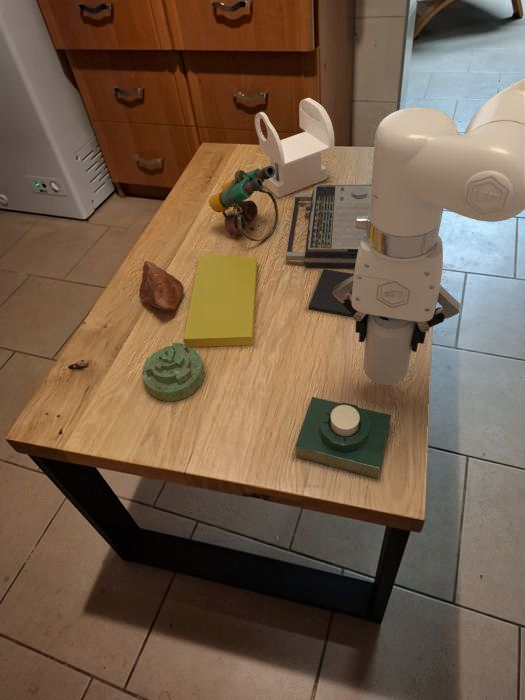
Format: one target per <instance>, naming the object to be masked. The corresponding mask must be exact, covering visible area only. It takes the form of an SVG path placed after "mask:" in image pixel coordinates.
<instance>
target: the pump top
mask: <svg viewBox="0 0 525 700" xmlns="http://www.w3.org/2000/svg"><path fill="white" fill-rule="evenodd" d="M359 421H360V416H359V413H358V411H357V410H356V409H355V408H353V407H351V406H348V405H340V406H337V407H336V408H334V409H333V411H332V412H331V417H330V426H331V429H332V430H333V432H334V433H336V434H337V435H339V436H343V437H348V436H351V435H353V434H355V433H356V432H357V430H358V428H359Z"/></svg>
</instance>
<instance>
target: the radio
mask: <svg viewBox="0 0 525 700" xmlns="http://www.w3.org/2000/svg"><path fill="white" fill-rule="evenodd" d="M371 187H372V183H371V184H370V183H369V184H367V183H365V184H314V187H313V189H312V193H295V195H294V205H293V210H292V217H291V224H290V230H289V235H288V242H287V247H286V252H285V261H298V262H300V261H301V262H302V261H303V262H304V265H305V267H306V269H339V270H340V269H347V270H355V264H356V258H357V253H358V249H359V246H360V243H361V240H362V238H363V237H364V234H365V233H366V232H365V230H362V229H358V228H356V220H357V217H364V216H368V213H370V204H371ZM300 202H310V203H307V204H305V209H306V210H305V211H304V216H308V217H309V218H308V224H307V233H306V242H305V249H304V251H293V250H292V249H293V242H294V237H295V232H296V231H295V230H296V224H297V215H298V209H299V203H300Z"/></svg>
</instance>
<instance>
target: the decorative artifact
mask: <svg viewBox="0 0 525 700" xmlns="http://www.w3.org/2000/svg"><path fill="white" fill-rule="evenodd" d="M204 368H205V367H204V364H203V361H202V357H201V356H200V354H199V353H198V352H197V350H195V349H193V347H187V346H186V345H185V343H180V342H172V343H171V345H167V346H165V347H163V348H160V349H158V350H157V351H155V352H154V353H152V354H151V355H150V356H149V357H147V358H146V359H145V361H144V364H143V367H142V371H141V372H142V373H141V374H142V380H143V382H144V384H145V386H146V388H147V391H148V392H149V394H150V395H151V396H152V397H154V398H156V399H157V400H160V401H163V402H177V401H181V400H184V399H187V398H189V397H190V396H192V395H193V394H195V392H197V391H198V390H199V388H200V387H201V386H202V384H203V382H204V380H205V369H204Z"/></svg>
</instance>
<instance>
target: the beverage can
mask: <svg viewBox="0 0 525 700" xmlns="http://www.w3.org/2000/svg"><path fill="white" fill-rule="evenodd" d="M415 327H416V321H408V320H402V319H395V318H389V317H382V316H376V315H371V314H369V315H368V317H367V327H366V338H365V341H364V353H363V354H364V355H363V366H362V367H363V372H364V373H365V375H366V377H367V378H368V379H369V380H370V381H372V382H374V383H376V384H379V385H386V386H387V385H388V386H389V385H394V384H398V383H399V382H402V380H404V379H405V377H406V376H407V374H408V371H409V365H410V360H411V355H412V350H411V349H412V343H413V338H414V332H415Z"/></svg>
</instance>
